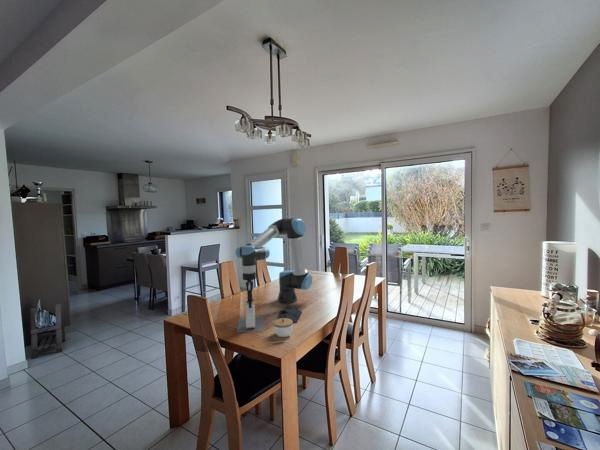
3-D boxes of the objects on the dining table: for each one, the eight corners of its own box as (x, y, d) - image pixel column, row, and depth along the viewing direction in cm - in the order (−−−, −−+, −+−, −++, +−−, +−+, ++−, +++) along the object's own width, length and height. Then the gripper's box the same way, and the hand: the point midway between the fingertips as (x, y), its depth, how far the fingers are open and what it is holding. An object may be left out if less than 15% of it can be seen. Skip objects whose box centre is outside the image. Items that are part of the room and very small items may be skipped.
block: (255, 325, 161) (254, 304, 163) (255, 327, 156) (254, 306, 158) (246, 326, 161) (246, 305, 163) (246, 328, 155) (245, 306, 157)
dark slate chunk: (273, 323, 166) (273, 316, 166) (281, 311, 188) (281, 304, 188) (297, 324, 164) (297, 316, 164) (302, 311, 186) (302, 304, 185)
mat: (263, 317, 176) (263, 316, 176) (264, 331, 154) (264, 330, 154) (238, 319, 174) (238, 318, 174) (236, 333, 152) (236, 332, 152)
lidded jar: (273, 332, 153) (273, 315, 153) (292, 330, 154) (292, 314, 154) (273, 340, 142) (273, 323, 142) (293, 339, 143) (293, 322, 143)
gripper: (243, 270, 161) (244, 309, 162) (241, 274, 149) (243, 317, 149) (255, 270, 163) (256, 308, 163) (255, 274, 150) (257, 316, 150)
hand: (250, 312), depth 156 cm, fingers closed
